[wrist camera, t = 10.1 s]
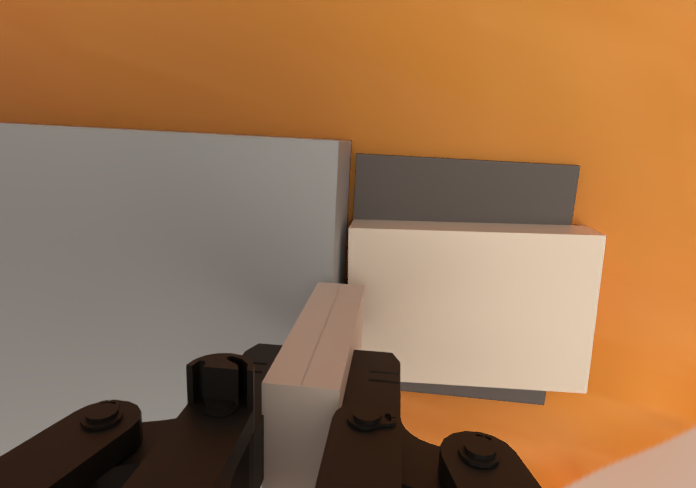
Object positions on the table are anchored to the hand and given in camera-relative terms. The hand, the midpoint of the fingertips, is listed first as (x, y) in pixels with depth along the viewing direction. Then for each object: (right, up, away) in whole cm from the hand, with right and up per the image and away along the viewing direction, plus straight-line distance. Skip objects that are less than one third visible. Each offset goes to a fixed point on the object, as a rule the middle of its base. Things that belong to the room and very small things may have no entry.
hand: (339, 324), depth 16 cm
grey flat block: (-9, 0, +6) cm, 11 cm away
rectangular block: (+5, 0, +4) cm, 7 cm away
